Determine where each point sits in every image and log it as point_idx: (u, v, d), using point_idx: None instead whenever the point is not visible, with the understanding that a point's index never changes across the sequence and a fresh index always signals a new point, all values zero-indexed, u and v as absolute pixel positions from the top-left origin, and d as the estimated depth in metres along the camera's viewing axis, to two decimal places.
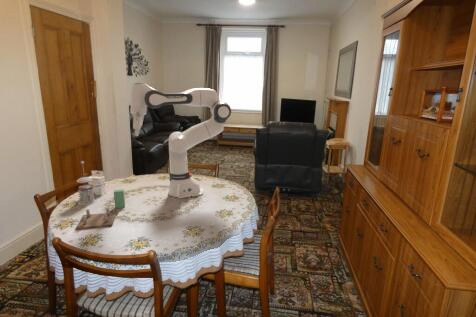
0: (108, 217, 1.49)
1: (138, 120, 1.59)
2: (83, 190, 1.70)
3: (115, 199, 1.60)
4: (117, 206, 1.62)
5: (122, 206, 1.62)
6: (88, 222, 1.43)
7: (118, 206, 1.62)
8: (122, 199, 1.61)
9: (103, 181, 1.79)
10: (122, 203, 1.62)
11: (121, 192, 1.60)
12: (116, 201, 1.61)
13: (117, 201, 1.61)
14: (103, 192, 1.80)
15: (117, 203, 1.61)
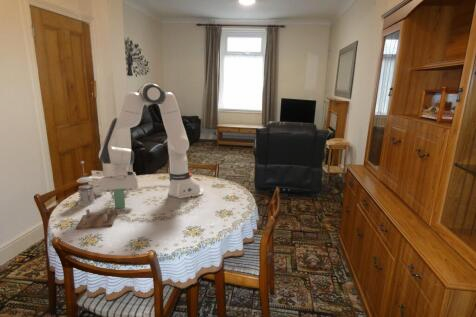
0: (108, 217, 1.49)
1: None
2: (83, 190, 1.70)
3: (115, 199, 1.60)
4: (117, 206, 1.62)
5: (122, 206, 1.62)
6: (88, 222, 1.43)
7: (118, 206, 1.62)
8: (122, 199, 1.61)
9: None
10: (122, 203, 1.62)
11: (121, 192, 1.60)
12: (116, 201, 1.61)
13: (117, 201, 1.61)
14: (103, 192, 1.80)
15: (117, 203, 1.61)
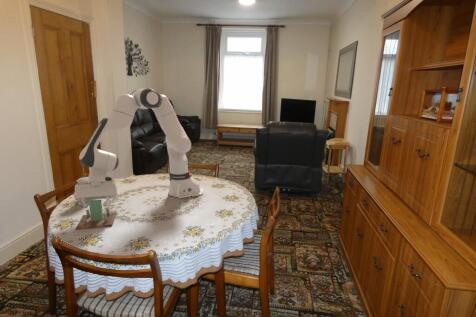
0: (108, 217, 1.49)
1: None
2: None
3: (91, 211, 1.43)
4: (93, 219, 1.44)
5: (99, 219, 1.45)
6: (88, 222, 1.43)
7: (94, 219, 1.44)
8: (99, 211, 1.44)
9: None
10: (99, 215, 1.44)
11: (98, 203, 1.43)
12: (92, 213, 1.43)
13: (93, 213, 1.43)
14: None
15: (93, 215, 1.44)
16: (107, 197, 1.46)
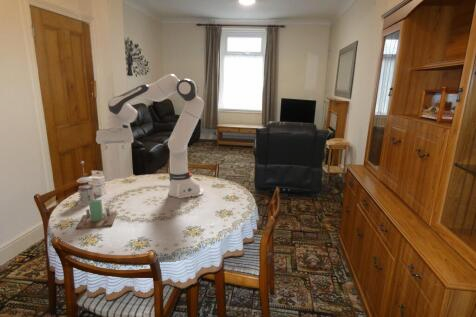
0: (108, 217, 1.49)
1: None
2: (83, 190, 1.70)
3: (91, 211, 1.43)
4: (93, 219, 1.44)
5: (99, 219, 1.45)
6: (88, 222, 1.43)
7: (94, 219, 1.44)
8: (99, 211, 1.44)
9: (103, 181, 1.79)
10: (99, 215, 1.44)
11: (98, 203, 1.43)
12: (92, 213, 1.43)
13: (93, 213, 1.43)
14: (103, 192, 1.80)
15: (93, 215, 1.44)
16: (125, 141, 1.68)
